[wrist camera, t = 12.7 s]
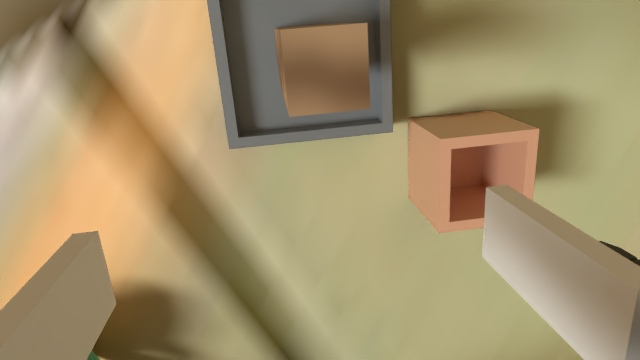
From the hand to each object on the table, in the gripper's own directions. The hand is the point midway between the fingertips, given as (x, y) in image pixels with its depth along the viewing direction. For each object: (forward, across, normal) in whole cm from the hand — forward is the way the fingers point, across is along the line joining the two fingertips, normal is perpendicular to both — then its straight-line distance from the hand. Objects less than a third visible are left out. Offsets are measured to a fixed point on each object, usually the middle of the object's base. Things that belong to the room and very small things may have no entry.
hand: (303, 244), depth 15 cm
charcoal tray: (+31, -3, -5) cm, 31 cm away
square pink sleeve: (+31, -18, +7) cm, 37 cm away
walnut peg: (+30, -3, -5) cm, 30 cm away
